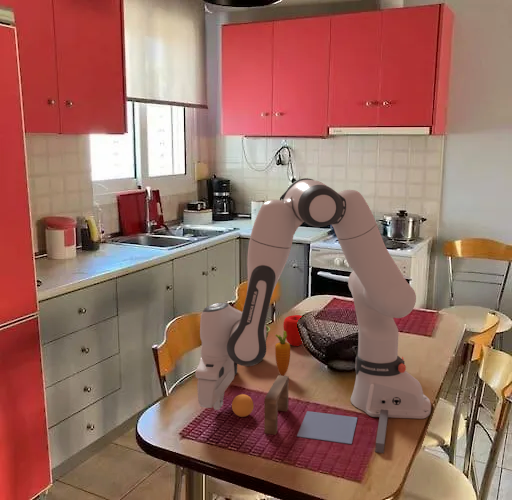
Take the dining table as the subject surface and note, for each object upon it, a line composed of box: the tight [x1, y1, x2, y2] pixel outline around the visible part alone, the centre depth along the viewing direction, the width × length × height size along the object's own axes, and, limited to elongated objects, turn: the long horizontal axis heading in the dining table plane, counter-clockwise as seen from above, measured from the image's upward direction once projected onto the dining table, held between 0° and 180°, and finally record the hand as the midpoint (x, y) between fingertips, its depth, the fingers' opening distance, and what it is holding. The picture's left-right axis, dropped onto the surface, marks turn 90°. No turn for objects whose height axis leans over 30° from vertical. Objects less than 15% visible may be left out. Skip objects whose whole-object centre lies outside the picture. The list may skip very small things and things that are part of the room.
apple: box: [282, 314, 303, 347], centre depth 212 cm, size 9×9×11 cm
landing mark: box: [296, 410, 358, 445], centre depth 154 cm, size 14×14×1 cm
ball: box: [231, 393, 255, 418], centre depth 160 cm, size 6×6×6 cm
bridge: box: [263, 374, 290, 436], centre depth 157 cm, size 3×15×10 cm, turn 164°
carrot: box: [274, 330, 291, 376], centre depth 184 cm, size 5×5×15 cm
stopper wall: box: [374, 409, 389, 454], centre depth 150 cm, size 2×18×2 cm, turn 164°
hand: (218, 407), depth 162 cm, fingers closed
